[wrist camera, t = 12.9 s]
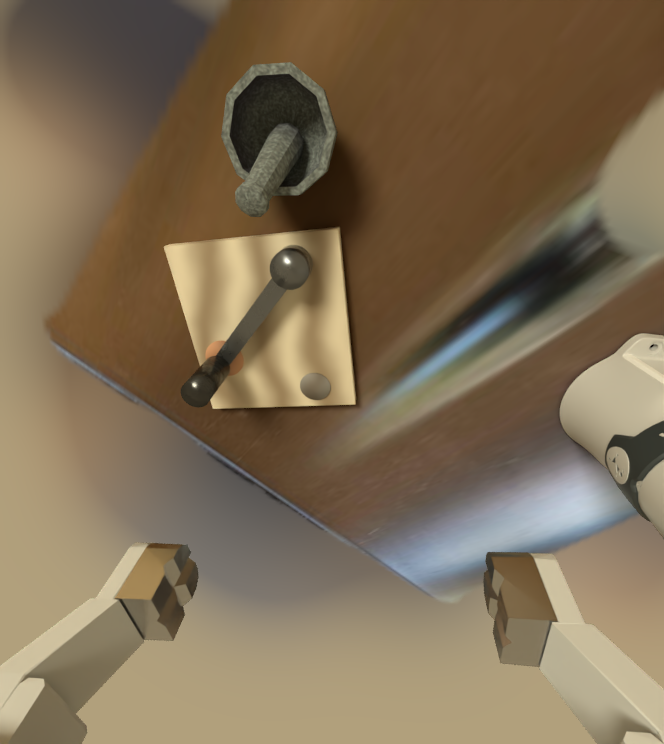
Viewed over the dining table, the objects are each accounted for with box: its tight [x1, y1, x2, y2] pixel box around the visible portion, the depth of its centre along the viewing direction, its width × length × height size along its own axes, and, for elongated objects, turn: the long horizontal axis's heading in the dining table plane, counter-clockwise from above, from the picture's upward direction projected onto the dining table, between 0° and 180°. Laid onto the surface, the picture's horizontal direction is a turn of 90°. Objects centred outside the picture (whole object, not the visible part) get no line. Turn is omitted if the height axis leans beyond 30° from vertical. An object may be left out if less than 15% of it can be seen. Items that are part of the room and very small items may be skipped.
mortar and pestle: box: [221, 63, 337, 217], centre depth 33 cm, size 11×9×12 cm
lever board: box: [164, 227, 356, 409], centre depth 47 cm, size 20×22×2 cm
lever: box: [181, 245, 313, 407], centre depth 41 cm, size 4×20×8 cm, turn 142°
